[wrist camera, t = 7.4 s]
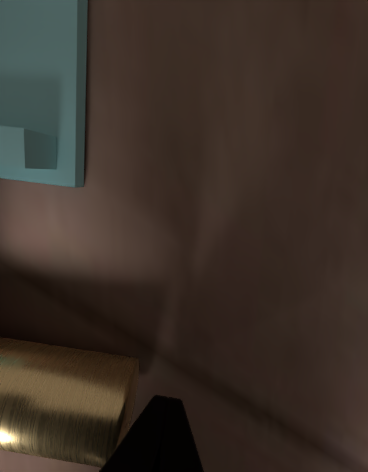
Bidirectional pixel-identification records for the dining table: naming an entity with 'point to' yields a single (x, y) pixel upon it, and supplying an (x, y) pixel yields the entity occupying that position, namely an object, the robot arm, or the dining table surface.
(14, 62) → the cradle
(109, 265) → the dining table surface
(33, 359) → the cylinder
